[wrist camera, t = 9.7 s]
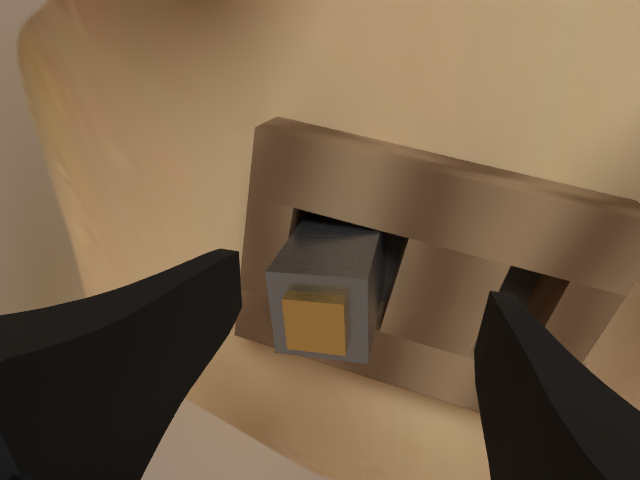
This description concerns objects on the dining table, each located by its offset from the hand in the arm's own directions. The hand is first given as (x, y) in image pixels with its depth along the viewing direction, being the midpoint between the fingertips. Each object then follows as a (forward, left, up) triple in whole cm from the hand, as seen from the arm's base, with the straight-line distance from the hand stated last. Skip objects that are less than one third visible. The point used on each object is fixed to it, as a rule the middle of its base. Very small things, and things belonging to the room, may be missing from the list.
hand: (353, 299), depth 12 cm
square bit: (+1, +4, -10) cm, 11 cm away
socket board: (-2, +4, -10) cm, 11 cm away
